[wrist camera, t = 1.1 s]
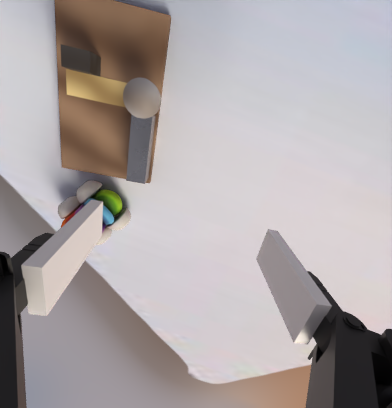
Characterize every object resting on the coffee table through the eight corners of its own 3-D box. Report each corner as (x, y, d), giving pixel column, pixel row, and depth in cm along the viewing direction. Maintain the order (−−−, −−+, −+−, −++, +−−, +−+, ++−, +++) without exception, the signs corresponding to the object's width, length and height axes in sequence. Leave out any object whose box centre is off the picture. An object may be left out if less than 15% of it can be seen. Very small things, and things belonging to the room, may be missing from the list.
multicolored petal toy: (59, 205, 34) (27, 229, 27) (101, 169, 32) (78, 185, 25) (99, 241, 37) (79, 270, 30) (141, 210, 35) (129, 233, 28)
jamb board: (59, -11, 23) (24, -44, 19) (176, 20, 25) (173, -2, 20) (65, 165, 31) (42, 176, 26) (154, 181, 33) (148, 194, 28)
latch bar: (137, 111, 27) (131, 111, 25) (156, 115, 28) (152, 116, 25) (131, 174, 31) (126, 180, 28) (148, 177, 31) (144, 183, 28)
